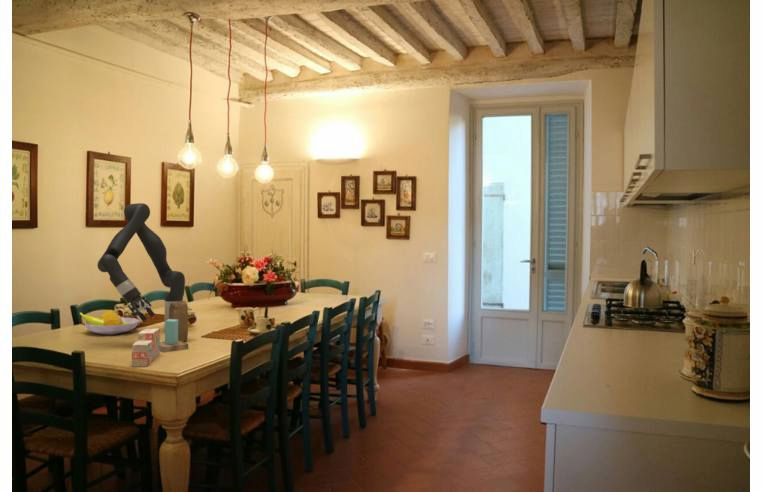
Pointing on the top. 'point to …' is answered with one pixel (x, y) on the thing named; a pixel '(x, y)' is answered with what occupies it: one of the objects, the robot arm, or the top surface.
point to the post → (171, 331)
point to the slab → (173, 346)
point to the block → (180, 318)
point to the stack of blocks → (146, 347)
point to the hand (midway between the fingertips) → (149, 318)
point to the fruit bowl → (109, 323)
